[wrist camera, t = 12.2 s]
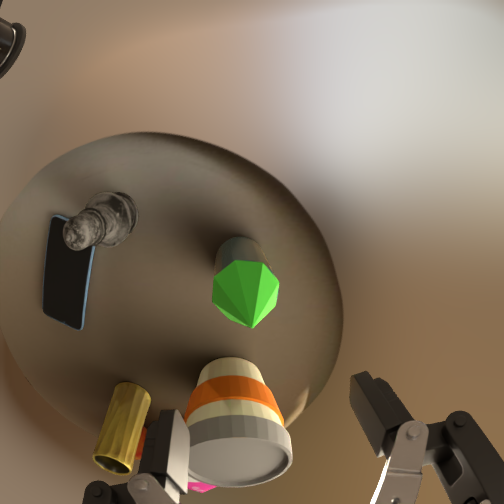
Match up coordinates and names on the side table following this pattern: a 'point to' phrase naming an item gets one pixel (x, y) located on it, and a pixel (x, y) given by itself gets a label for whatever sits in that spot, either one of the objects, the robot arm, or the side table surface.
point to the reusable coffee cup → (235, 427)
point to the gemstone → (245, 292)
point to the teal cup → (240, 254)
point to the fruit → (140, 444)
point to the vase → (122, 429)
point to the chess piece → (102, 221)
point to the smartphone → (65, 277)
